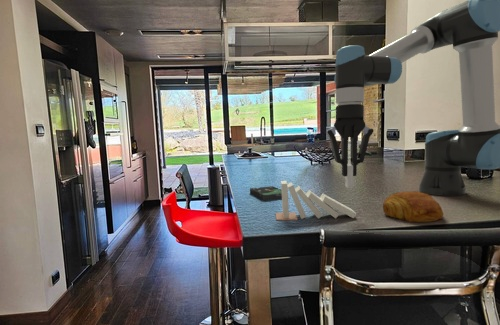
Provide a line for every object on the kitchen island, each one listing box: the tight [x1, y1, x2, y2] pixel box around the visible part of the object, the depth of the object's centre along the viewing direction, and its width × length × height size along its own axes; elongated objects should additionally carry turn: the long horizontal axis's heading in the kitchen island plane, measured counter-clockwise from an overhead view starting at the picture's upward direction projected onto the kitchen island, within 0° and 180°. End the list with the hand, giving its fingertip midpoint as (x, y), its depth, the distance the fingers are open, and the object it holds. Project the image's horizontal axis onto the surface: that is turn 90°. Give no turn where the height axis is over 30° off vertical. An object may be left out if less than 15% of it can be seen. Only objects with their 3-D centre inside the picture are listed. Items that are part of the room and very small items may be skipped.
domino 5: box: [319, 193, 357, 219], centre depth 90 cm, size 2×5×10 cm
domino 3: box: [294, 185, 324, 220], centre depth 91 cm, size 2×5×10 cm
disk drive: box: [249, 185, 282, 202], centre depth 121 cm, size 10×3×15 cm
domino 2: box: [287, 182, 307, 220], centre depth 91 cm, size 2×5×10 cm, turn 177°
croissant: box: [382, 190, 444, 223], centre depth 89 cm, size 14×16×8 cm
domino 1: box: [280, 180, 290, 218], centre depth 91 cm, size 5×2×10 cm, turn 177°
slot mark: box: [275, 212, 298, 221], centre depth 91 cm, size 6×7×1 cm
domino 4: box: [305, 189, 340, 219], centre depth 90 cm, size 2×5×10 cm
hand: (349, 187), depth 89 cm, fingers closed
